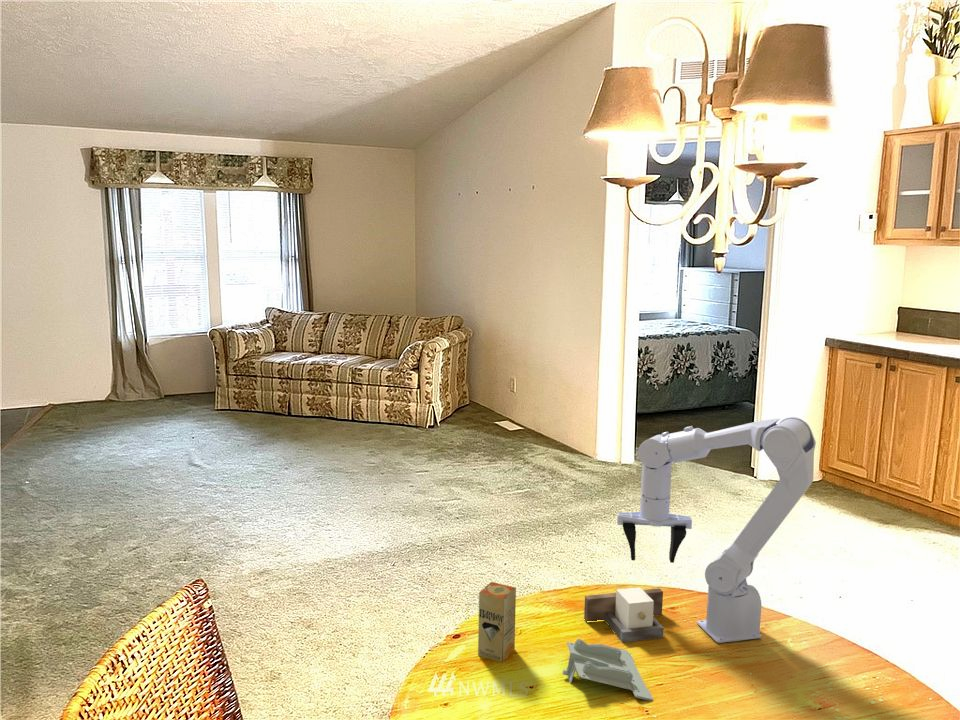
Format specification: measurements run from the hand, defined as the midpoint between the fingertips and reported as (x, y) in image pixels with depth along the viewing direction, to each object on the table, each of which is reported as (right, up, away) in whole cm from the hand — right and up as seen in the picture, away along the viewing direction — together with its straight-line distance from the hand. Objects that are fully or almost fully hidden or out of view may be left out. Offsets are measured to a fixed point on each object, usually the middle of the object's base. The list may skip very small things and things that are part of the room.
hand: (652, 559), depth 156 cm
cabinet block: (-5, -12, -7) cm, 15 cm away
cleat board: (-5, -12, -7) cm, 14 cm away
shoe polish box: (-32, -13, -16) cm, 38 cm away
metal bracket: (-13, -15, -23) cm, 31 cm away
